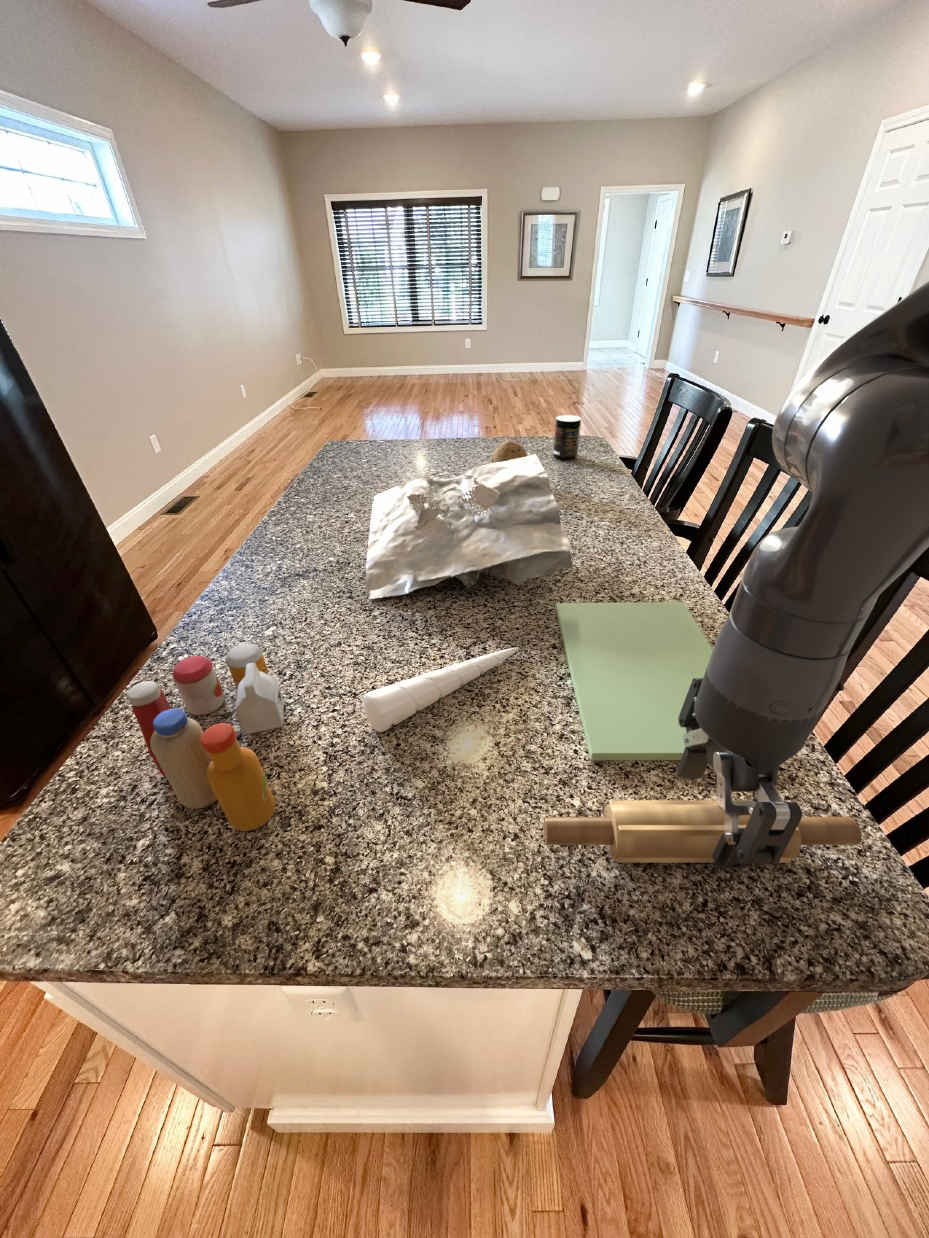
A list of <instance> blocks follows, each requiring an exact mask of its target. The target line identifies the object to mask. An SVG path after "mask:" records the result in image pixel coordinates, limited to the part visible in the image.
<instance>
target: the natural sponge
mask: <svg viewBox="0 0 929 1238" xmlns="http://www.w3.org/2000/svg"><path fill="white" fill-rule="evenodd" d="M526 456H528V453H527V450H526V449H525V447H524V446H523V445H522V444H520V443H519V442H517V441H514V440H505V441H503V442H501V443H500V444H499V445H498V446H497V447H496V448H495V450H494V451H493V454H492V456H491V458H490V464H491V463H496V462H503V461H508V460H511V459H516V458H522V457H526Z"/></svg>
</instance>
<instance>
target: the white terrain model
mask: <svg viewBox="0 0 929 1238" xmlns="http://www.w3.org/2000/svg"><path fill="white" fill-rule="evenodd" d="M371 509H372V510H371V514H370V515H371V516H370V524H369V532H368V542H367V549H366V550H367V551H366V564H365V565H366V567H365V590H366V592H369V594H368V595H369V596H367V598H368V600H375V599H379V598H380V599H382V598H385V597H386V598H389V597H396V596H403V595H407V594H409V593H412V592H413V591H415V590H418V589H422V588H427V587H428V588H430V587H431V586H436V585H437V584H439V583H440V582H442V581H444V580H446V579H448V578H453V577H456V578H457V579H458V580H460V581H461V582H462V583H463V585H464V587H467V588H468V589H470V588H471V587H472V586H474V585H476V583H477V582H478V580H479V578H480V573H487V574H488V573H489V574H491V575H493V576H495V577H498V578H499V579H502V580H504V579H505V580H506V581H509V582H511V583H513V584H514V585H516V586H521V585H522V584H523V583H524V582H526V581H527V580H533V579H536V578H539V577H544V576H547V575H551V574H554V573H556V572H557V571H559V570H568V569H570V570H573V569H574V566H573V560H572V555H571V551H572V550H573V546H572V544H571V543H570V541H571V539H569V538H568V537H569V535H568V534H567V533H566V531H565V528H564V525H565V524H563V523H564V522H562V521H561V520H562V519H561V516H560V515H561V514H560V509H559V506H558V504H557V502H556V499H555V497H554V495H553V492H552V489H551V485H550V480H549V476H548V474H547V472H546V469H545V468H544V467H543V465H542V463H541V461H540V459H539V457H538V456H537V454H532V455H527V456H526V457H522V458H516V459H511V460H508V461H503V462H496V463H491V462H490V463H487V464H482V465H479V466H476V467H474V468H472V469H470V470H469V471H466V472H465V473H462V474H460V475H458V476H455V477H451V478H450V477H449V478H443V479H442V478H440V479H438V478H437V479H432V478H430V477H427V476H423V477H418V478H415V479H413V480H410V481H409V482H406V483H402V484H399V485H396V486H394V487H392V488H389V489H387V490H386V491H381V492H379V493H377V494H374V496H373V503H372V508H371Z"/></svg>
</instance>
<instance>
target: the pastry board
mask: <svg viewBox="0 0 929 1238" xmlns="http://www.w3.org/2000/svg"><path fill="white" fill-rule="evenodd" d="M554 611H555V615H556V619H557V624H558V628H559V632H560V637H561V640H562V646H563V649H564V653H565V657H566V661H567V666H568V670H569V674H570V679H571V683H572V687H573V691H574V697H575V699H576V704H577V707H578V712H579V717H580V721H581V725H582V730H583V734H584V739H585V742H586V747H587V750H588V755H589V759H590V761H681V758H682V756H683V753H684V749H685V747H686V746H685V745H684V742H683V736H684V734H685V733H687V732H686V728H685V727H680V725H679V722H678V718H679V714H680V712H681V709H682V706H683V704H684V701H685V698H686V696H687V693H688V691H689V688H690V685H691V683H692V680H693V678H703V677H704V674H705V671H706V668H707V666H708V663H709V660H710V657H711V654H712V651H713V647H712V646H711V644H710V642H709V641H708V639H707V638H706V636H705V635H704V633H703V631H702V629H701V628H700V626H699V624H698V623H697V621H696V620H695V618H694V617H693V615H692V613H691V612H690V610H689V609H688V606H687V605H686V604H685V602H684V601H644V602H643V601H642V602H641V601H640V602H639V601H638V602H637V601H636V602H633V601H631V602H555V607H554ZM693 715H695V713H693Z"/></svg>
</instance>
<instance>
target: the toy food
mask: <svg viewBox="0 0 929 1238" xmlns="http://www.w3.org/2000/svg"><path fill="white" fill-rule="evenodd" d="M225 663H226V665H227V666H228V669H229V672H230V675H231V678H232V681H233V683H234V685H235V686H236V687H237V691H236V699H235V706H234V707H235V708H234V712H235V715H236V718H237V720H238V723H239V725H240V728H241V730H242V733H243V735H250V734H255V733H259V732H266V731H268V730H274V729H279V728H282V727H283V726H284V721H285V720H284V717H285V716H284V715H285V714H284V710H285V709H284V708H285V703H284V698H283V695H282V691H281V688H280V685H279V682H278V679H277V678H276V677H274V676H272V675H270V674H269V671H268V670H269V669H268V666H267V664H266V660H265V656H264V654H263V651H262V649H261V648H260V646H259V645H257V644H254V643H241V644H238V645H235V646H234V647H231V649H230V650H229V651H228V652H227V654H226V656H225ZM172 678H173V682H174V684H175V686H176V688H177V691H178V693H179V695H180V697H181V699H182V702H183V704H184V706H185V708H186V710H187V712H188V713H190V714H191V715H194V716H204V715H209V714H211V713H213V712H215V711H216V710H218V709H219V708H220V707H221V706H223V704H224V702H225V698H226V695H225V693H224V690H223V688H222V684H221V682H220V680H219V677H218V675H217V672H216V670H215V668H214V666H213V662H212V660H211V658H208V657H206V656H203V655H193V656H188V657H185V658H184V659H182V660H180V661H179V662H177V663H176V665H175V666H174V667H173V669H172ZM126 698H127V699H128V701H129V703H130V704H131V709H132V712H133V714H134V717H135V718H136V721H137V723H138V725H139V728H140V730H141V733H142V736H143V740H144V742H145V744H146V747H147V748H146V749H147V750H148V753H149V755H150V757H151V759H152V760H153V762H154V764H155V767H156V768H157V769H158V771H159V773H160V775H162V776H163V777H166V779H167V781H168V783H169V785H170V786H171V788H172V790H173V792H174V794H175V795H176V798H177V799H178V801H179V802H180V804H181V805H182V806H183V807H185V808H187V809H191V810H198V809H203V808H206V807H208V806H210V805H212V804H214V803H215V802H217V801H218V803H219V806H220V807H221V809H222V811H223V813H224V815H225V817H226V819H227V821H228V822H229V824H230V825H231V827H232V828H233V829H235V830H237V831H240V832H250V831H253V830H254V831H255V830H256V829H258V828H259V829H260V828H261V827H262V826H264V825H266V823H268V821H270V819H271V817H272V816H273V815H274V812H275V809H276V799H275V797H274V794H273V792H272V789H271V787H270V785H269V782H268V780H267V777H266V774H265V772H264V770H263V768H262V765H261V763H260V760H259V757H258V755H257V754H256V753H255V752H254V751H253V750H251V749H250V748H248V747H244V746H240V744H239V742H238V740H237V733H236V731H235V728H234V727H233V726H232V725H231V724H230V723H226V722H220V723H216V724H213V725H211V726H210V727H208V728H206V729H205V730H204V731H203V729H202V726H201V725H200V724H199V722H198V721H196V720H195V719H193V718H191V717H188V716H187V714H186V712H185V711H184V709H181V708H176V707H175V708H172V706H171V704H170V703H169V701H168V699H167V696H166V694H165V693H164V691H163V690H162V688H160V687H159V685H158V683H157V682H155V681H152V680H146V681H140V682H138V683H136V684H135V685H133V686H132V687H130V688H129V689H128V690H127V692H126Z"/></svg>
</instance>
